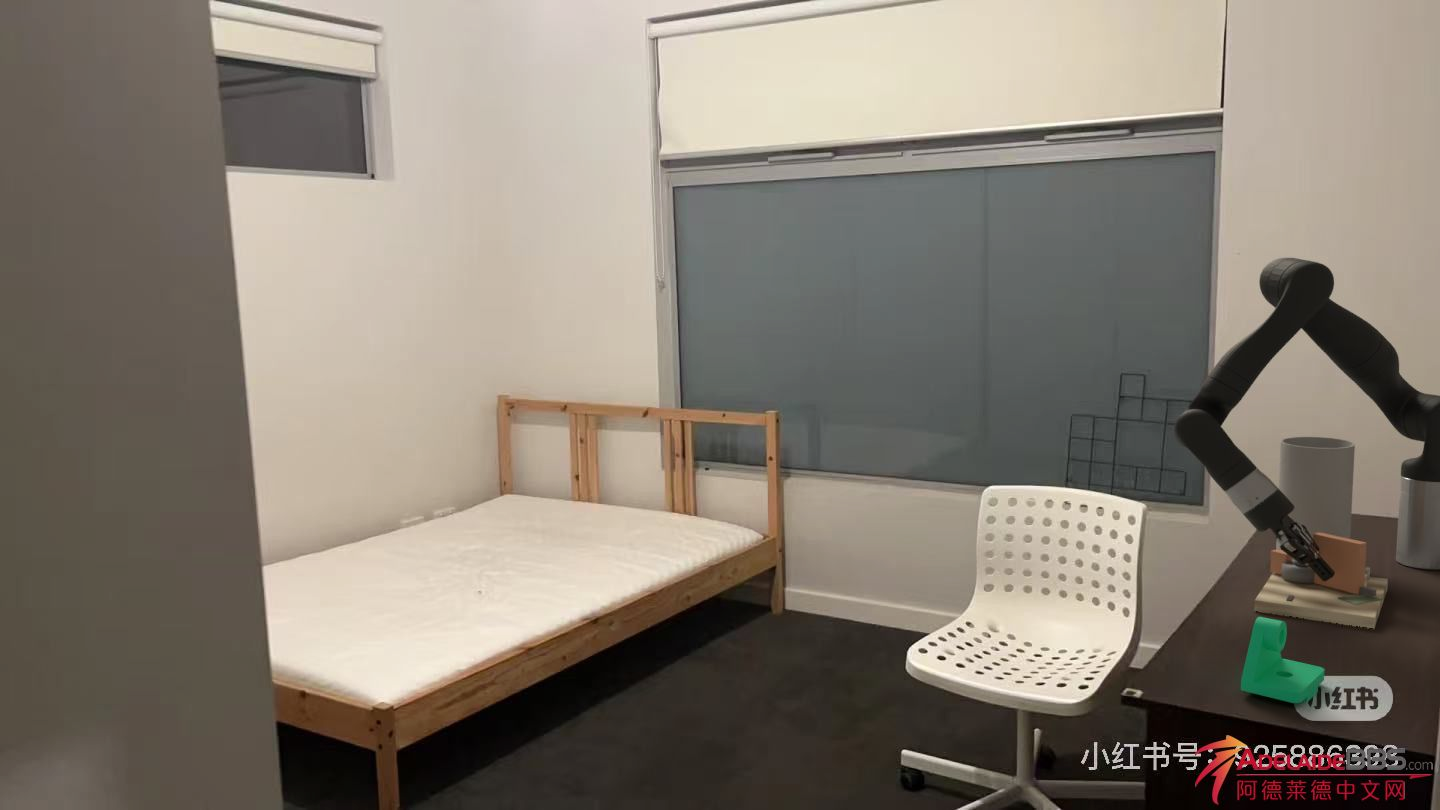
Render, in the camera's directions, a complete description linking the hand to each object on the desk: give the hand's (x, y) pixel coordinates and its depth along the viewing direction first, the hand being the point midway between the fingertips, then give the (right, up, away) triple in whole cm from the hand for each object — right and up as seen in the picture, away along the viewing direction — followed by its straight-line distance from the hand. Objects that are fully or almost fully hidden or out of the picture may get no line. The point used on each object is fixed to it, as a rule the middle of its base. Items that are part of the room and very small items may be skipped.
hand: (1330, 577), depth 190 cm
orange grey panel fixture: (+1, -2, +5) cm, 6 cm away
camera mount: (-26, -11, -34) cm, 44 cm away
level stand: (0, -5, +3) cm, 6 cm away
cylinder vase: (+9, -2, +22) cm, 23 cm away
